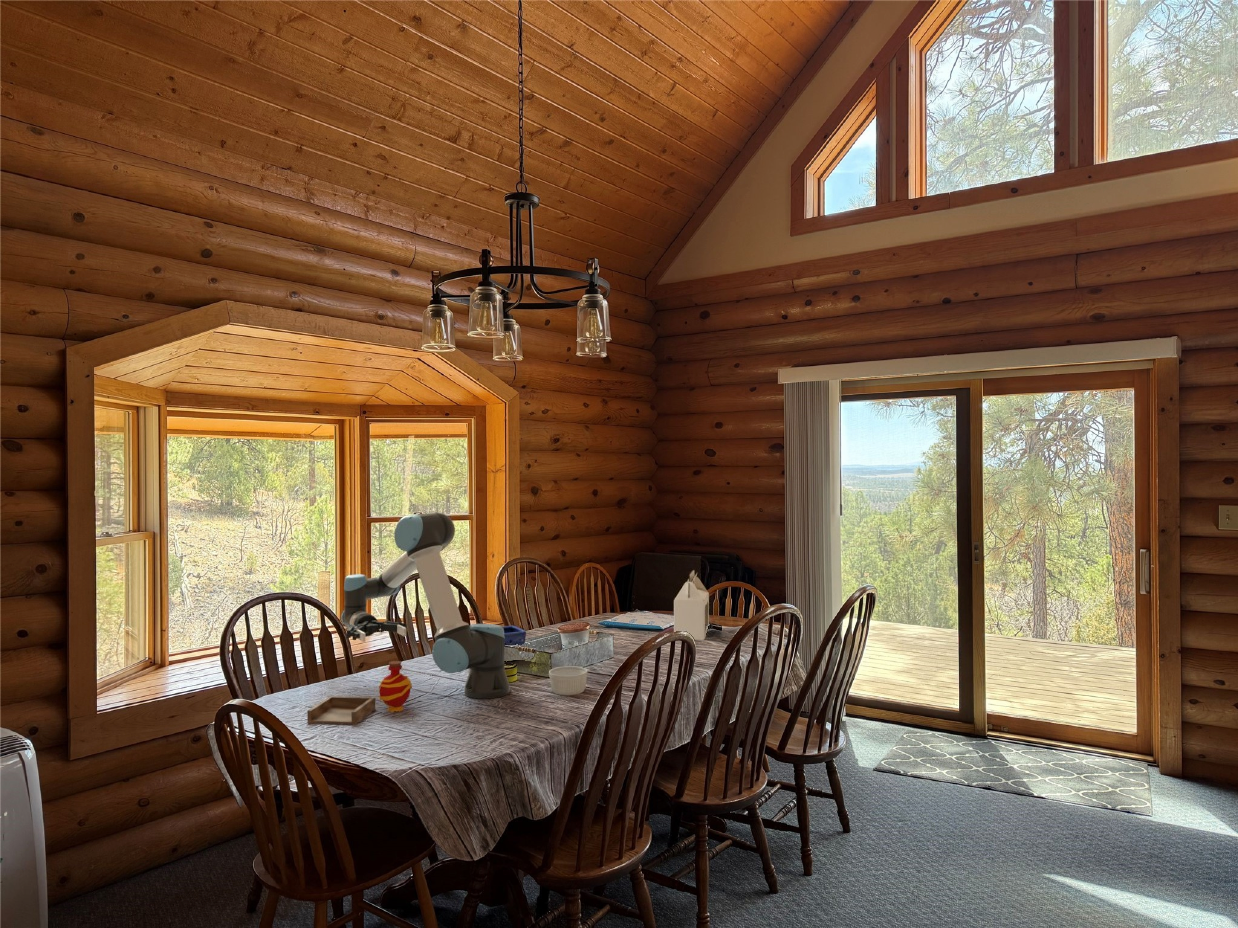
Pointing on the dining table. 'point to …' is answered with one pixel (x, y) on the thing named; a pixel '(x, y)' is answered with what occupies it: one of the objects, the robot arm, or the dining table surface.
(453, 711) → the dining table surface
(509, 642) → the flower pot
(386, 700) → the potion bottle
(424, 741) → the dining table surface
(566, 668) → the ramekin
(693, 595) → the gable box
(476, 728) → the dining table surface
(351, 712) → the u rest
